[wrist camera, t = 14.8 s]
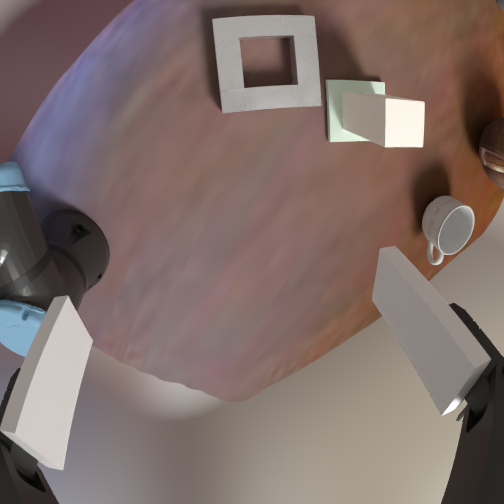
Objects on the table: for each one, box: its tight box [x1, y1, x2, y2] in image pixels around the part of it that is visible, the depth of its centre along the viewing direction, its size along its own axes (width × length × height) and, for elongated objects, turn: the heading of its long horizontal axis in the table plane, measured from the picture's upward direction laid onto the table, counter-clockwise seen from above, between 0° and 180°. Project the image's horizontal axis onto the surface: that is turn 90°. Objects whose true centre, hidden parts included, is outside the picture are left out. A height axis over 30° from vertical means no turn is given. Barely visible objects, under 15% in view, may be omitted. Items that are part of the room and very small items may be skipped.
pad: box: [326, 80, 385, 142], centre depth 43 cm, size 10×10×1 cm
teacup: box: [422, 196, 474, 265], centre depth 52 cm, size 14×11×8 cm
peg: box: [342, 92, 424, 147], centre depth 37 cm, size 6×6×13 cm
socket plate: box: [212, 15, 321, 113], centre depth 37 cm, size 14×14×3 cm
